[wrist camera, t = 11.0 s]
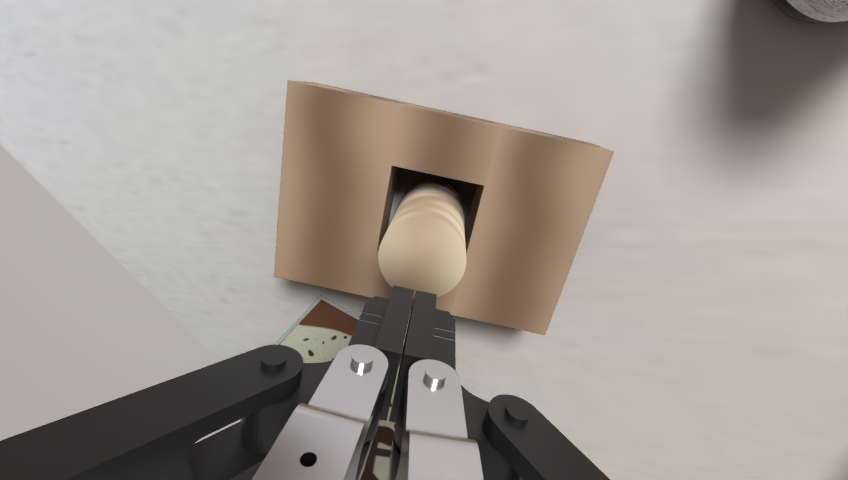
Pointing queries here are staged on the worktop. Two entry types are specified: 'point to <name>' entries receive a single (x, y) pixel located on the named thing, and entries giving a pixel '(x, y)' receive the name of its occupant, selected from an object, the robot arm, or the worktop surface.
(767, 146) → the worktop surface
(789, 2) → the ink bottle
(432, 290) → the peg
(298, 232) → the board
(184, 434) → the robot arm
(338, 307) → the food container
